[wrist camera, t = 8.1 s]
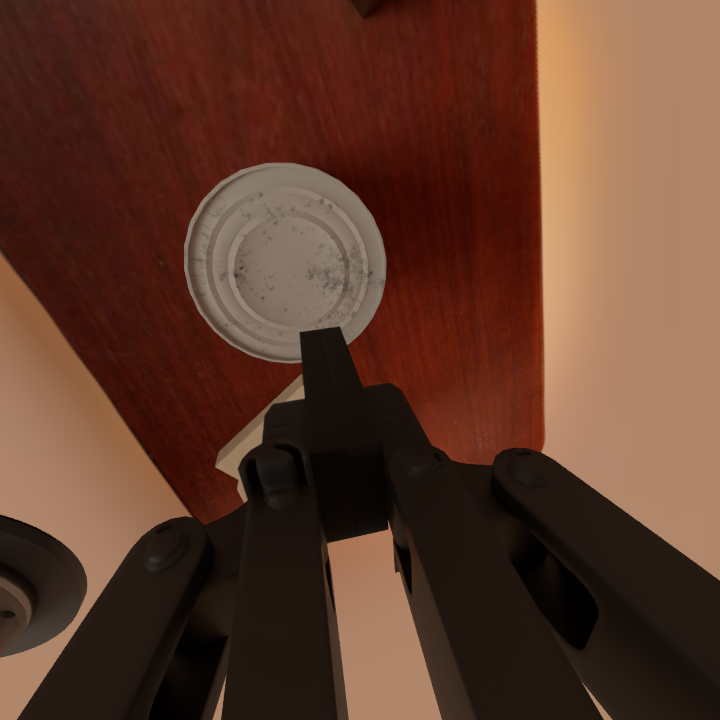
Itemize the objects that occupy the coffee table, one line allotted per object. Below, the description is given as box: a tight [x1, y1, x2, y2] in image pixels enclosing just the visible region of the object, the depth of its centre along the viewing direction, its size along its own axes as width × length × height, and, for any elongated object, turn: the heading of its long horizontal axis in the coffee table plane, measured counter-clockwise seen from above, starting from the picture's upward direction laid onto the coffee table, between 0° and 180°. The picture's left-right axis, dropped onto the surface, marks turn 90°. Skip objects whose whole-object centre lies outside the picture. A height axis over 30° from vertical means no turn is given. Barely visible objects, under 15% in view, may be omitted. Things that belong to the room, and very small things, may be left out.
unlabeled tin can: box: [184, 163, 386, 363], centre depth 22 cm, size 10×10×12 cm
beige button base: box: [215, 374, 305, 503], centre depth 35 cm, size 10×12×4 cm
